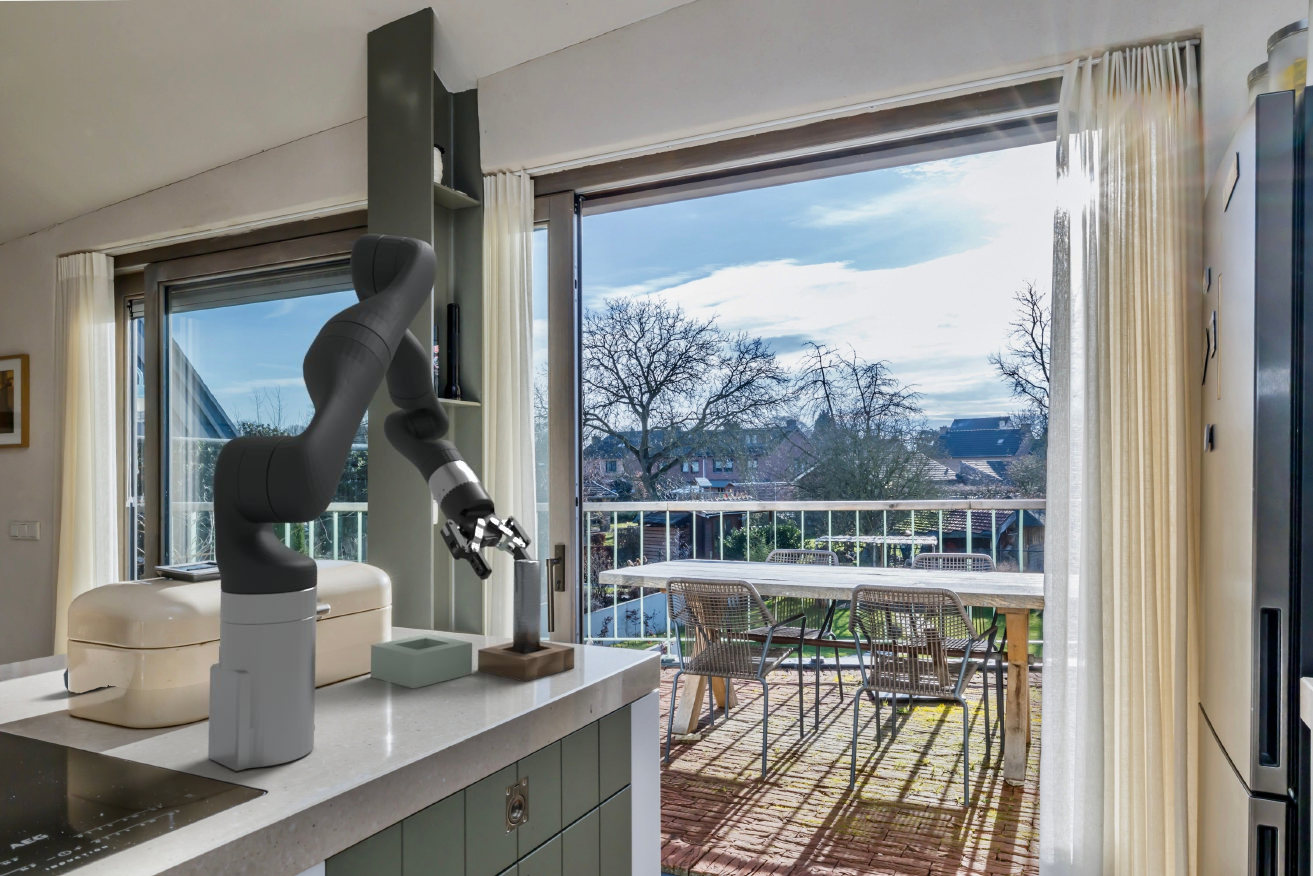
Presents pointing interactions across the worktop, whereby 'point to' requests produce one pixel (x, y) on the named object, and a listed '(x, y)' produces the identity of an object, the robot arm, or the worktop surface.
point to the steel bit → (527, 606)
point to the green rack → (421, 660)
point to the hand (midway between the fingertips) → (509, 573)
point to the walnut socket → (525, 661)
